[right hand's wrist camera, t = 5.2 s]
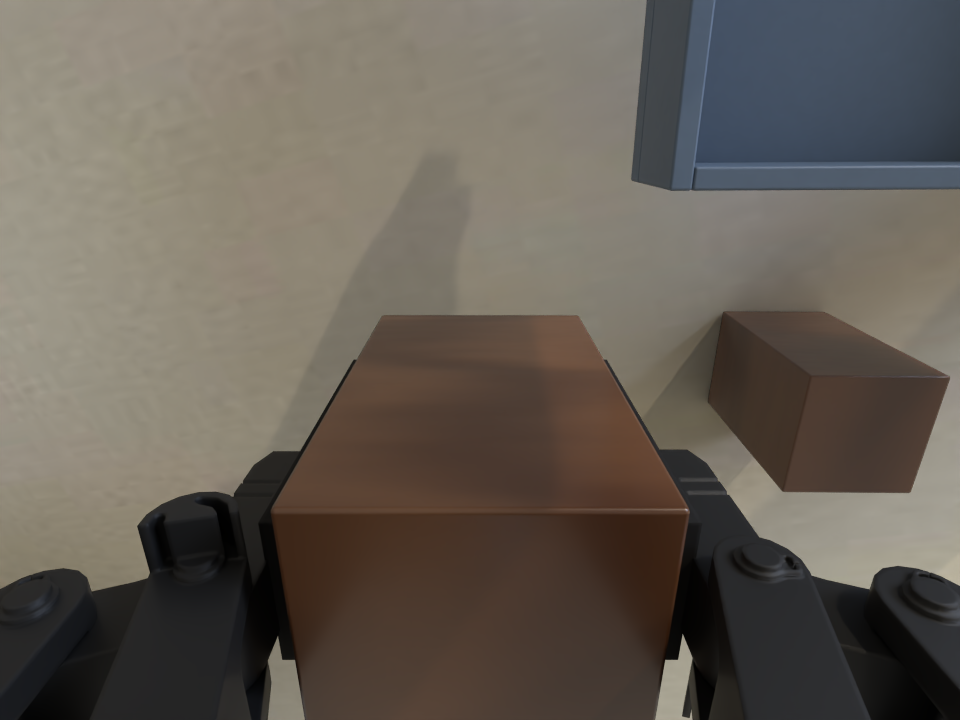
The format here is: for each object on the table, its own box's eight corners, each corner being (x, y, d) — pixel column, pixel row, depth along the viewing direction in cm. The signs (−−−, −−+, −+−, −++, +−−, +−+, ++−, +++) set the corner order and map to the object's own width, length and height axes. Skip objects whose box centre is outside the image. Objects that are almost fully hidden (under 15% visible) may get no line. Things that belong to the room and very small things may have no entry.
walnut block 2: (707, 402, 29) (782, 492, 22) (722, 311, 27) (810, 375, 20) (802, 402, 29) (910, 493, 22) (824, 311, 27) (951, 376, 20)
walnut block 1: (392, 482, 16) (313, 786, 8) (381, 314, 14) (267, 509, 6) (567, 482, 16) (646, 787, 8) (579, 314, 14) (692, 509, 6)
